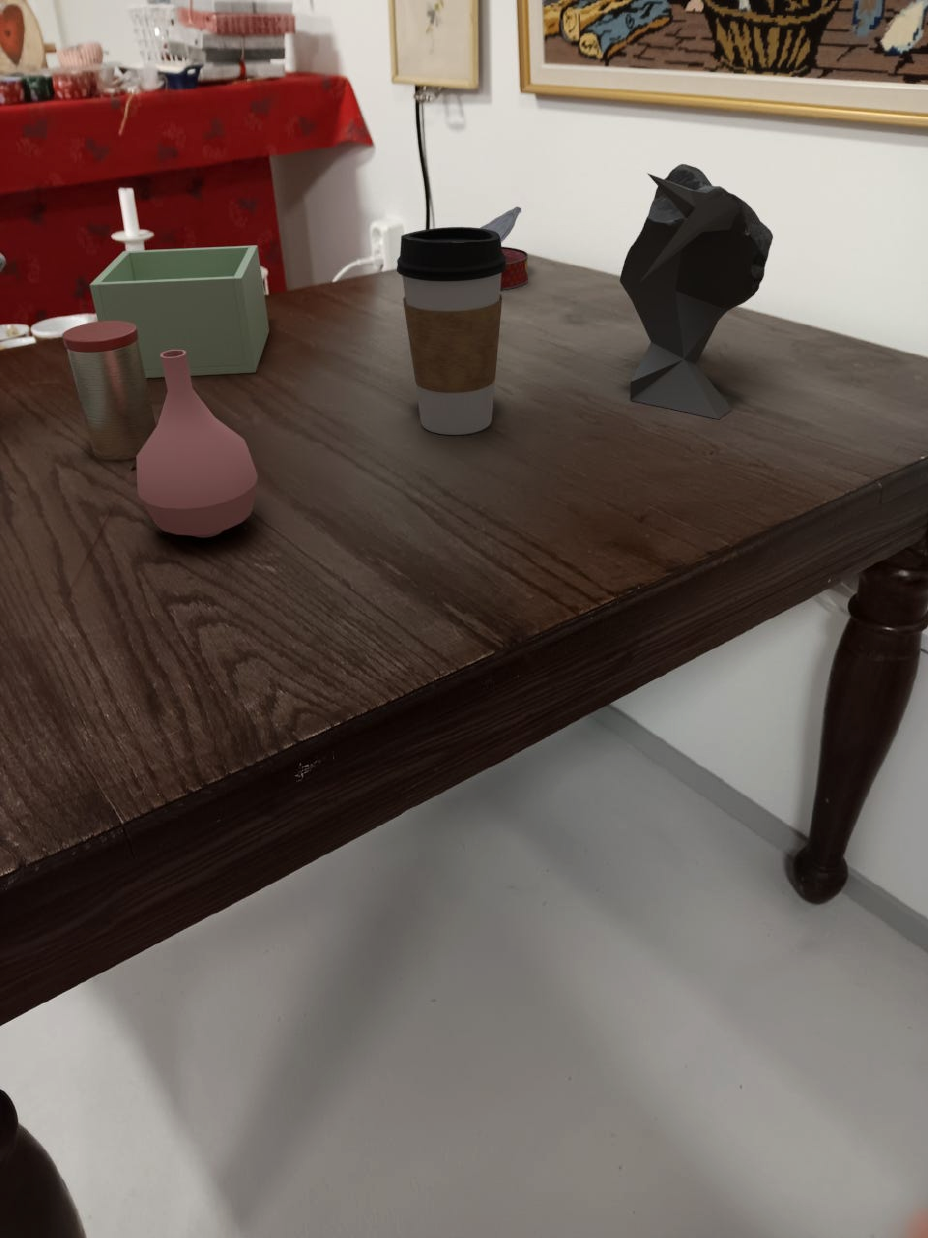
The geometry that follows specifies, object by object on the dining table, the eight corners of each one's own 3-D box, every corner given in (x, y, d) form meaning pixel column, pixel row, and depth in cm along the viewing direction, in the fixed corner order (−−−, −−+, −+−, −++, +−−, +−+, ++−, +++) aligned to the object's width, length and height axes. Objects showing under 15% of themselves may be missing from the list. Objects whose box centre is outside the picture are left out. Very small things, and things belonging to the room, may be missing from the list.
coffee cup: (388, 434, 78) (374, 239, 70) (430, 398, 84) (422, 217, 76) (485, 447, 75) (482, 246, 67) (520, 409, 82) (522, 222, 73)
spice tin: (87, 473, 73) (52, 343, 67) (103, 447, 77) (72, 322, 72) (156, 470, 73) (127, 339, 68) (168, 443, 77) (142, 318, 72)
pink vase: (274, 544, 63) (247, 363, 56) (154, 567, 60) (111, 382, 54) (253, 496, 69) (226, 328, 62) (144, 515, 67) (104, 344, 60)
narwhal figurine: (786, 367, 89) (821, 153, 79) (719, 419, 79) (749, 180, 69) (647, 342, 96) (663, 143, 86) (569, 387, 86) (577, 167, 76)
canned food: (508, 327, 117) (496, 262, 109) (438, 309, 121) (421, 244, 112) (550, 265, 121) (541, 197, 113) (481, 249, 125) (468, 182, 116)
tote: (111, 380, 91) (89, 284, 86) (141, 337, 102) (122, 250, 97) (255, 372, 92) (241, 277, 87) (269, 331, 103) (257, 245, 98)
